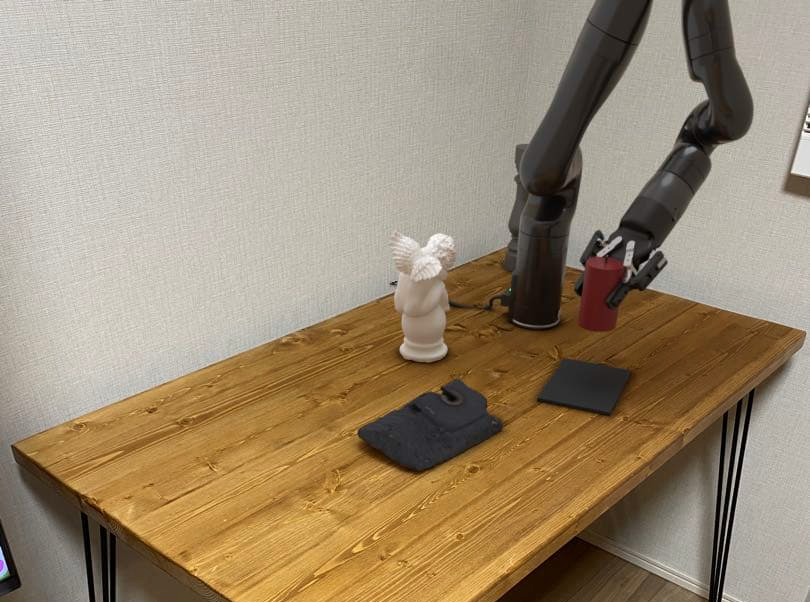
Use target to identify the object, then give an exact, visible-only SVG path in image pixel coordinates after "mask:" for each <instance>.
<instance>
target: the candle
mask: <svg viewBox="0 0 810 602" xmlns="http://www.w3.org/2000/svg"><path fill="white" fill-rule="evenodd" d="M623 264H624V263H623V262H621V261H618V260H615V259H612V258H610V257H608V255H607V256H605V257H593V258H589V259H588V260H587V261H586V266H585V268H584V270H585V273H584V281H583V289H582V296H580V305H579V310H578V311H579V313H578V320H577V325H578V327H580V328H581V329H584V330H586V331H589V332H595V333H604V332H611V331H613V330H614V329H616V327H617V320H618V314H619V309H620V305H619V306H618V307H616V308H615V309H614V310H612V309H609V308H608V306H607V305H606V304H605V301H606V299H607V298H608V296H609V295H610V294H611V292H612V291H613V289H614V288H615V286H616V285H617V284H618V282H620V283H621V282H622V276H623V273H624V269H625V266H624V265H623Z"/></svg>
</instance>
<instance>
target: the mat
mask: <svg viewBox="0 0 810 602" xmlns="http://www.w3.org/2000/svg"><path fill="white" fill-rule="evenodd" d="M632 373H633V371H632V370H630V369H624V368H619V367H614V366H608V365H603V364H599V363H593V362H588V361H582V360H577V359H573V358H572V359H571V358H567V357H564V358H563V359H562V361H561V362H560V364H559V366H558V367H557V368H556V370H555V371H554V373H553V374H552V376H550V378H549V380H548V381H547V382H546V384H545V385H544V387H543V388H542V390H541V392H539V395H538V396H537V399H536V401H537V402H541V403H546V404H550V405H556V406H560V407H564V408H565V407H566V408H570V409H575V410H579V411H584V412H588V413H589V412H590V413H594V414H600V415H605V416H611V414H612V412H613V411H614V409H615V407H616V404H617V402H618V401H619V399H620V397H621V395H622V393H623V391H624V389H625V387H626V385H627V383H628V381H629V379H630V378H631V375H632Z"/></svg>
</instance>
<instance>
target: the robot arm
mask: <svg viewBox="0 0 810 602" xmlns="http://www.w3.org/2000/svg"><path fill="white" fill-rule="evenodd" d="M653 4H654V0H595V1H594V2H593V5H592V7H591V8H590V11H589V13H588V15H587V17H586V19H585V21H584V24H583V26H582V28H581V30H580V32H579V35H578V37H577V39H576V42H575V44H574V47H573V48H572V51H571V54H570V56H569V59H568V61H567V63H566V66H565V67H564V70H563V72H562V75H561V77H560V80H559V83H558V85H557V88H556V90H555V92H554V95H553V98H552V100H551V103H550V105H549V107H548V109H547V110H546V113H545V115H544V116H543V118H542V120H541V122H540V123H539V125H538V127H537V129H536V131H535V133H533V136H532V137H531V139H530V141H529V143H527V144H528V146H527V148H526V149H525V151H524V153H523V155H522V158H521V162H520V170H519V171H520V179H521V182H522V184H523V186H524V188H525V189H526V190H527V191H528V192H529V197H528V200H527V203H526V206H525V208H524V210H523V212H522V214H521V217H520V226H519V237H518V248H517V259H516V269H515V271H514V272H512V273H511V278H510V280H511V281H510V286H507V287H506V288H505V290H504V291H503V292H502V293H501V294H499V295H497V294H496V295H494V296H492V297H490V298H489V300H488V305H485V306H480V307H474V306H468V305H464V304H461V303H459V302H458V303H457V302H455V301H453V300H449V299H448V303H449V306H450V305H451V306H453V307H455V308H456V307H457V308H459V309H460V308H461V309H479V310H489V309H492V308H493V306H494V301H495V300H500V303H499V306H500V307H506V308H508V309H507V310H508V311H507V322H508V323H513V325H516V326H518V327H521V328H525V329H528V330H546V329H547V330H548V329H552V328H555V327H557V325H559V323H560V316H561V315H562V310H563V306H561V305H562V298H563V291H564V283H565V275H566V267H567V259H568V258H567V257H568V250H569V243H570V234H571V230H572V229H571V228H572V223H573V220H574V218H575V215H576V211H577V207H578V203H579V195H580V188H581V184H582V183H581V182H582V177H583V169H584V168H583V166H584V157H583V151H582V149H581V146H580V145H581V142H582V140H583V138H584V136H585V134H586V131H587V130H588V127H589V126H590V125H591V123H592V121H593V119H594V118H595V117H596V116H597V114H598V113H599V111H600V110H601V108H602V107H603V105H604V104H605V103H606V102H607V100H608V99H609V97H610V96H611V95H612V93H613V92H614V90H615V89H616V88H617V86H618V84H619V83H620V82H621V80H622V78H623V77H624V75H625V74H626V73H627V70H628V68H629V66H630V65H631V62H632V60H633V59H634V56H635V54H636V52H637V50H638V49H639V46H640V44H641V42H642V40H643V38H644V36H645V33H646V31H647V27H648V25H649V21H650V18H651V14H652V9H653ZM680 5H681V6H680V26H681V37H682V43H683V50H684V58H685V63H686V68H687V69H686V70H687V73H688V76H689V79H690V80H691V81H692V82H694V83H697V84H702V86H703V88H704V91H705V93H706V96H707V99H705V100H702V101H701V102H699V103H698V104H697V105H696V106H695V107H693V109H692V110H691V111H690V112H689V114H688V115H687V117H686V118H685V120H684V121H683V124H682V126H681V127H680V129H679V132H678V134H677V136H676V138H675V141H674V143H673V146H672V148H671V151H670V152H669V153H668V154H667V155H666V157H665V158H664V160H663V161H662V163H661V164H660V166H659V167H658V168H657V170H656V171H655V172H654V174H653V175H652V176H651V177H650V178H649V180H648V181H647V182H646V183H645V184H644V185H643V187H642V188H641V190H640V191H639V192H638V194H637V195H636V197H635V198H634V200H633V201H632V203H631V204H630V205H629V206H628V208H627V210H626V211H625V213H624V214H623V215H622V217H621V218H620V221H619V224H618V227H617V229H616V230H615V231H613V232H612V233H611V234H606V233H603V231H601V230H600V229H597V230H595V231H594V233H593V235H592V236H591V238H590V240H589V241H588V243H587V245H586V247H585V249H584V251H582V254H581V256H580V258H579V263H580V264H581V265H582V267H583V268H584V270H583V271H582V273H581V275H580V276H579V278H578V279H577V280H576V281H575V283H574V285H573V286H574V289H573V291H574V292H575V294H576V295H577V297H578V296H579V297H581V296H582V289H583V281H584V273H585V266H586V261H587V260H588V259H589V258H593V257H605V256H608V257H610V258H612V259H615V260H618V261H621V262H623V263H624V264H623V265H624V266H625V269H624V273H623V276H622V282H621V283H620V282H618V284H617V285H616V286H615V288H614V289H613V291H612V292H611V294H610V295H609V296H608V298H607V299H606V301H605V304H606V305H607V306H608V308H609V309H612V310H614V309H615V308H616V307H618V306H619V307H620V306H621V304H622V303H623V302H624V300H625V298H626V297H627V296H628V294H629V293H630V292H633V291H634V290H637V291H639V292H644V291H646V289H647V288H648V287H649V286H650V284H651V283H652V282H653V281H654V280H655V279H656V278H657V277H658V275H659V274H660V273H661V272H662V271H663V270H664V268H666V267H667V265H668V263H669V262H668V259H667V257H666V256H665V254H664V252H663V251H662V250H658V251H657V249H659V248H661V246H662V245H663V244H664V242H666V239H667V238H668V237H669V235H670V234H671V232H672V231H673V230H674V228H675V227H676V226H677V224H678V223H679V222H680V220H681V219H682V217H683V216H684V214H685V213H686V211H687V209H688V207H689V205H690V204H691V202H692V200H693V199H694V197H695V196H696V195H697V193H698V192H699V190H700V189H701V187H702V186H703V184H704V183H705V181H706V180H707V178H708V177H709V175H710V173H711V171H712V167H713V162H712V159H711V156H712V154H713V152H714V151H715V150H716V149H717V148H718V147H719V146H722V145H726V144H730V143H734V142H737V141H739V140H741V139H743V138H744V137H745V136H746V135H747V134H748V133H749V131H750V129H751V127H752V124H753V121H754V115H755V107H754V106H755V104H754V99H753V94H752V92H751V90H750V87H749V84H748V82H747V80H746V77H745V73H744V71H743V69H742V67H741V66H740V63H739V60H738V58H737V53H736V47H735V46H736V45H735V44H736V43H735V37H734V29H733V24H732V19H731V18H732V17H731V10H730V3H729V0H681V4H680ZM644 263H645V264H644ZM642 264H644V265H643V266H642ZM391 282H392V281H391ZM391 282H389V285H390V286H394V285H395V284H398V281H395V282H392V283H391Z"/></svg>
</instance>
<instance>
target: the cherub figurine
mask: <svg viewBox="0 0 810 602" xmlns="http://www.w3.org/2000/svg"><path fill="white" fill-rule="evenodd" d="M388 245H389V246H390V248H389V249H390V251H391V254H392V256H394V257H393V261H394V265H395V266H396V269H397V271H399V272H400V273H399V276H398V278H399V279H398V278H397V279H398V282H397V283H396V284H397V285H396V290H395V293H394V296H393V298H394V299H393V300H394V308H395V310H396V311H397V312H398V313H399V314H402V315H401V329H402V332H403V335H404V336H403V343H402V344H401V345H400V346H399V354H400V355H401V356H402V357H403V359H405V360H409V361H414V362H419V363H432V362H436V361H440V360H442V359H443V358H444V357H446V355H447V353H448V346H447V344H446V343H445V340H444V336H443V335H444V334H445V330H446V326H447V315H446V312H447V313H448V312H450V311H451V308H450V304H449V303H448V300H449V295H448V291H447V289H446V284H445V282H444V281H446V280H447V279H448V271H450V270H451V268H452V267H453V266H454V265H455V262H456V259H457V257H458V252H457V249H456V243H455V240H454V239H453V238H452V236H450V235H447V234H444V233H441V232H439V233H435V234H434V235H432V236H430V237H429V240H428V242H427V243H426V246H424V247H421V246H420V244H419V243H418V242H417V241H415V240H414V239H413V238H411V237H408V236H405V235H403V234H401V233H400V232H398V231H397V230H394V232H393V234H392V235H390V240H389V241H388Z"/></svg>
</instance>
